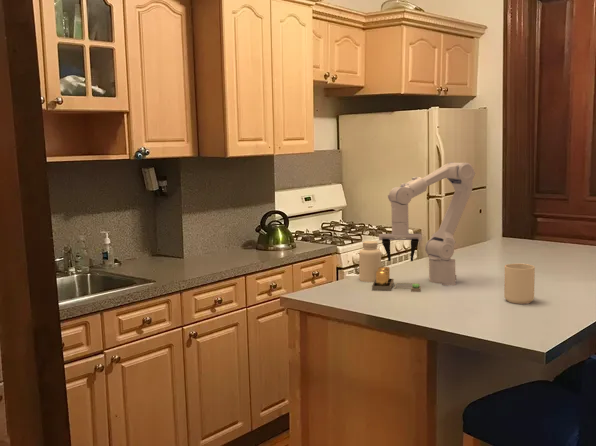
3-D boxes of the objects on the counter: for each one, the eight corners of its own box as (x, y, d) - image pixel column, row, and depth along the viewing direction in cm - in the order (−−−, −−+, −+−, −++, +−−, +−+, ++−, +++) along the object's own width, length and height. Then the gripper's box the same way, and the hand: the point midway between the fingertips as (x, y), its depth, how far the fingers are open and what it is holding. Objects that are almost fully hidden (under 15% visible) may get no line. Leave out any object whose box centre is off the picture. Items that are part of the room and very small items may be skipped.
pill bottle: (380, 284, 229) (380, 243, 227) (358, 284, 231) (357, 243, 229) (382, 279, 237) (381, 240, 235) (360, 279, 239) (359, 240, 237)
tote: (418, 286, 224) (418, 283, 224) (417, 292, 216) (417, 288, 216) (395, 286, 226) (395, 283, 226) (394, 291, 218) (394, 288, 218)
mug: (534, 305, 195) (534, 269, 194) (503, 303, 198) (504, 268, 197) (534, 296, 206) (534, 262, 205) (505, 294, 209) (505, 261, 208)
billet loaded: (390, 283, 226) (390, 266, 225) (389, 285, 222) (389, 269, 222) (378, 283, 227) (378, 266, 226) (377, 285, 223) (377, 268, 222)
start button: (419, 291, 215) (419, 283, 215) (419, 293, 213) (419, 285, 213) (412, 291, 216) (412, 283, 215) (412, 293, 213) (412, 285, 213)
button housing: (420, 292, 216) (420, 286, 215) (420, 294, 213) (420, 288, 212) (411, 292, 216) (411, 286, 216) (411, 294, 213) (411, 288, 213)
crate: (394, 285, 227) (394, 278, 227) (391, 293, 215) (391, 286, 215) (375, 285, 229) (375, 278, 228) (371, 293, 217) (371, 285, 216)
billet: (389, 289, 217) (389, 272, 216) (378, 290, 216) (378, 272, 216) (385, 286, 221) (385, 269, 220) (374, 287, 220) (374, 270, 219)
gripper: (377, 223, 217) (378, 262, 219) (421, 223, 214) (421, 263, 216) (379, 220, 224) (380, 258, 226) (421, 220, 221) (422, 259, 222)
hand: (400, 260), depth 221 cm, fingers open, 7 cm apart
